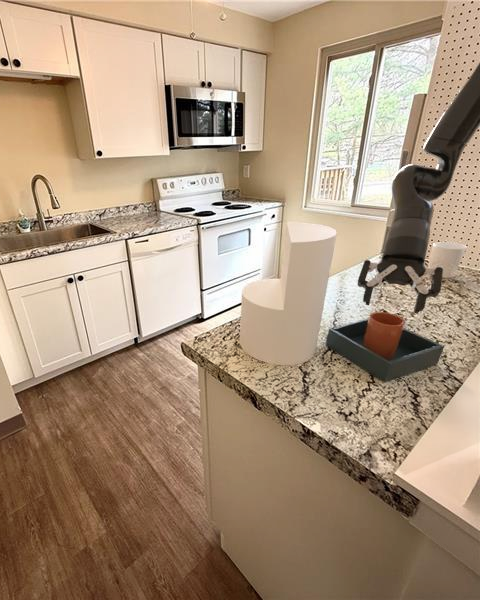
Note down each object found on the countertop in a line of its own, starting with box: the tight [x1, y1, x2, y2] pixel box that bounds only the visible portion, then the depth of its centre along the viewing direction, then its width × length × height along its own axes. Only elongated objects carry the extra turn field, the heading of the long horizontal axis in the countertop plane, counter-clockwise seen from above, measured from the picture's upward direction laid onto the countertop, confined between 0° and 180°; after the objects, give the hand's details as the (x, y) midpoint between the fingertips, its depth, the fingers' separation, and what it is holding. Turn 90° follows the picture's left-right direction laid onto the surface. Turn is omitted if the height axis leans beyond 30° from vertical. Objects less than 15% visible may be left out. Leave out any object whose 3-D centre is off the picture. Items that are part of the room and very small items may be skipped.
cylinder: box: [239, 221, 338, 366], centre depth 70 cm, size 17×17×28 cm
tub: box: [325, 317, 445, 383], centre depth 68 cm, size 14×14×5 cm
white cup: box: [427, 241, 468, 279], centre depth 101 cm, size 8×8×10 cm
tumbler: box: [362, 311, 406, 360], centre depth 67 cm, size 6×6×8 cm
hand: (391, 308), depth 68 cm, fingers open, 8 cm apart
